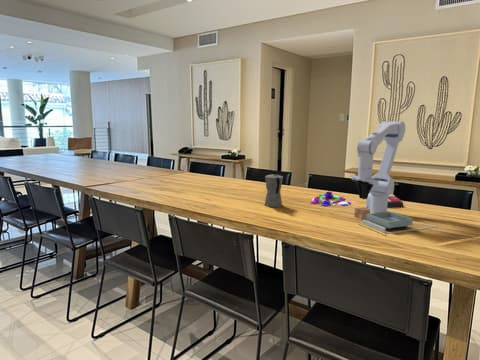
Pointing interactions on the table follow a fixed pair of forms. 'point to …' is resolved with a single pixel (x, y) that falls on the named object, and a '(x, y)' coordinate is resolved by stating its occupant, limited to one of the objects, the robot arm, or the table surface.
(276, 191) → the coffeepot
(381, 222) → the light blue storage bin
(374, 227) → the track
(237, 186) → the table surface
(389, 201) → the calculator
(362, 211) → the block
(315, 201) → the colorful gemstone pile
